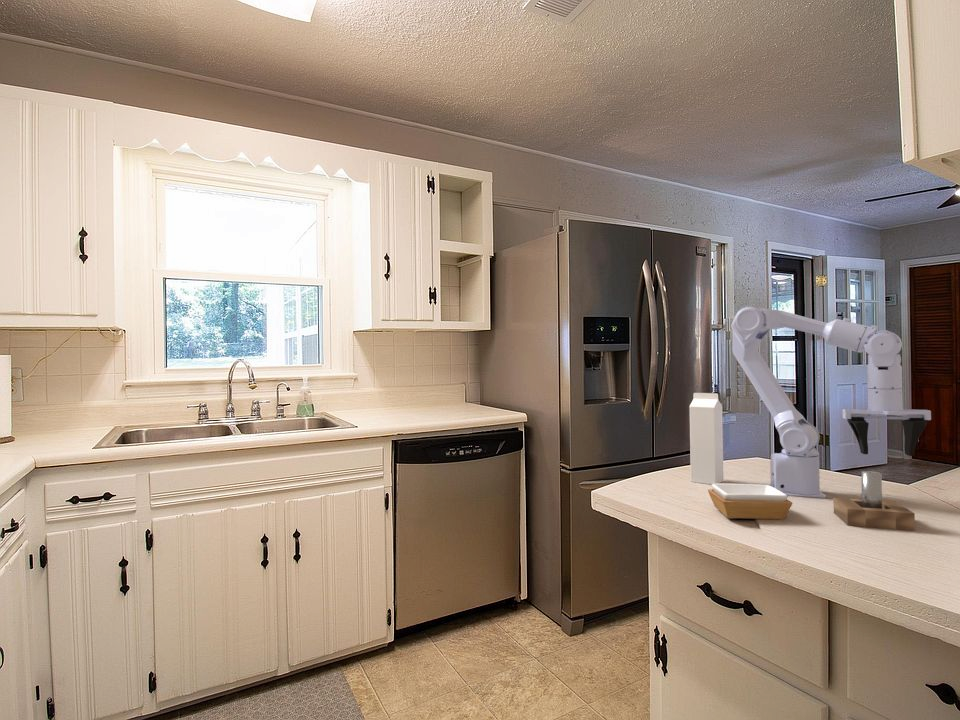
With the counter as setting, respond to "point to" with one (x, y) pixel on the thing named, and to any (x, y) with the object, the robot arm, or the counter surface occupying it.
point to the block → (874, 514)
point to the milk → (706, 439)
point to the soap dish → (749, 501)
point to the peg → (871, 489)
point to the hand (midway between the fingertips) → (886, 454)
